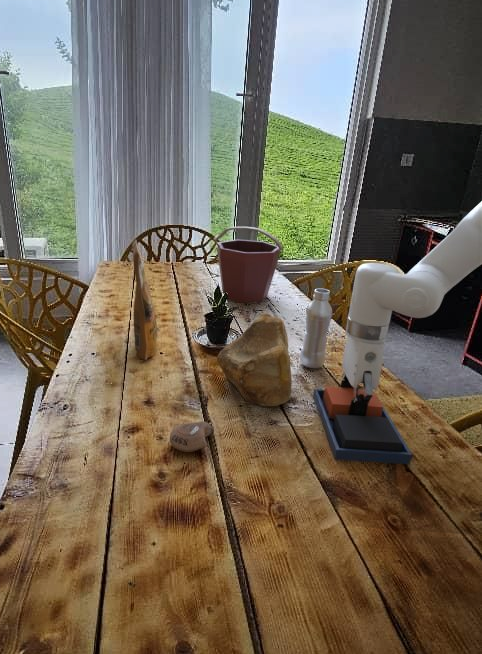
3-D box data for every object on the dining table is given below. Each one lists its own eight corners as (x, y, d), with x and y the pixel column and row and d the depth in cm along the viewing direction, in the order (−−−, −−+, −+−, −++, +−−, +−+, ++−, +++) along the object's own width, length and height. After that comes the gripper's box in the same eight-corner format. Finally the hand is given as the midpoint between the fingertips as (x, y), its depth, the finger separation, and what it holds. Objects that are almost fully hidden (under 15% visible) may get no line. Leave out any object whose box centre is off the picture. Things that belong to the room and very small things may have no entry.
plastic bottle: (299, 369, 111) (309, 293, 104) (298, 358, 117) (307, 285, 110) (325, 372, 110) (337, 296, 103) (323, 360, 116) (334, 287, 109)
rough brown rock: (219, 362, 115) (217, 308, 109) (284, 362, 113) (286, 307, 107) (214, 415, 94) (211, 352, 88) (293, 416, 92) (296, 351, 86)
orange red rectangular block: (369, 403, 95) (372, 389, 94) (380, 422, 89) (383, 407, 88) (322, 400, 96) (325, 386, 94) (329, 418, 89) (332, 403, 88)
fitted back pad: (383, 432, 87) (387, 417, 85) (398, 459, 79) (402, 443, 78) (332, 429, 87) (335, 414, 86) (342, 455, 80) (345, 439, 78)
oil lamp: (219, 459, 80) (210, 432, 87) (223, 440, 78) (214, 415, 85) (170, 457, 78) (165, 430, 85) (173, 438, 76) (168, 412, 83)
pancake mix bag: (127, 363, 111) (124, 252, 100) (135, 333, 128) (133, 236, 118) (154, 363, 111) (154, 253, 101) (158, 333, 129) (158, 237, 118)
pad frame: (372, 402, 98) (374, 392, 97) (409, 466, 78) (412, 454, 78) (312, 398, 99) (314, 388, 98) (334, 461, 79) (336, 449, 78)
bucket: (200, 295, 163) (203, 226, 154) (231, 282, 180) (236, 219, 171) (259, 310, 150) (266, 236, 141) (287, 295, 167) (295, 228, 158)
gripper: (403, 348, 77) (383, 433, 84) (372, 313, 93) (357, 387, 100) (359, 346, 77) (343, 431, 84) (336, 311, 93) (324, 385, 100)
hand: (351, 406), depth 92 cm, fingers closed on orange red rectangular block, 7 cm apart
